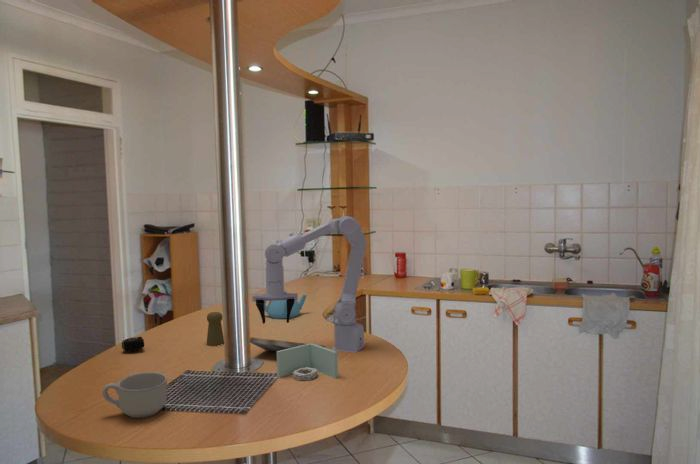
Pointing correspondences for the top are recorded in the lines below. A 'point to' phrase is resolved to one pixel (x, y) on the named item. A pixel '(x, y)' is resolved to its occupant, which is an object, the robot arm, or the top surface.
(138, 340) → the tape measure
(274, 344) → the grey oak plank
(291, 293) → the robot arm
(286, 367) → the l-shaped corner panel
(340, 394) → the top surface
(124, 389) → the teacup
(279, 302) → the teapot
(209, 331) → the brown tall rounded piece
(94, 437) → the top surface
